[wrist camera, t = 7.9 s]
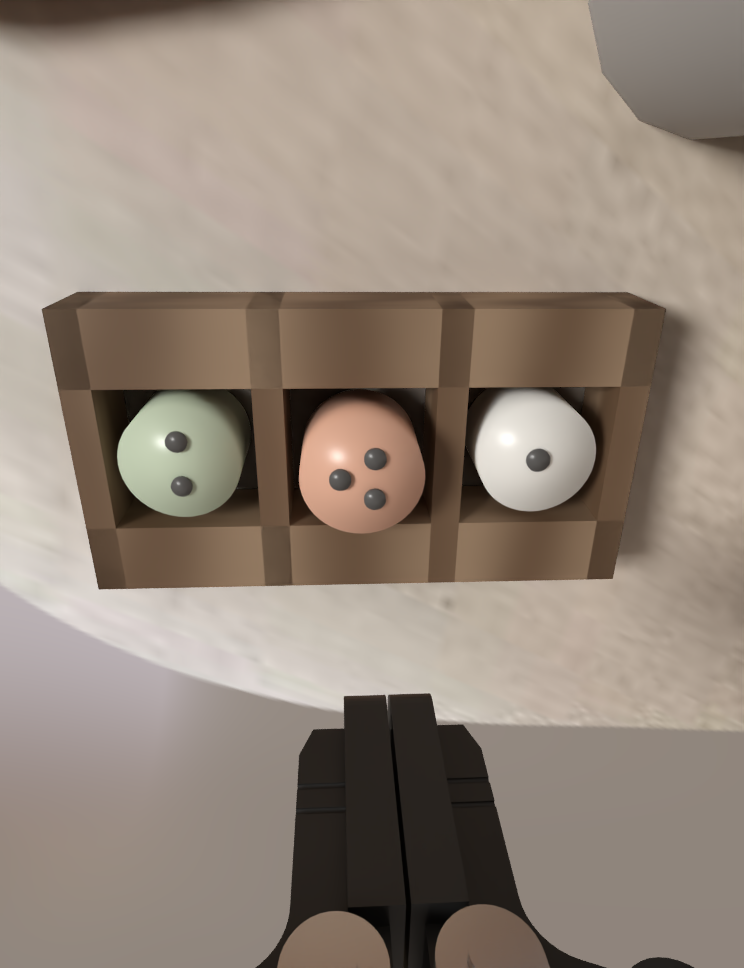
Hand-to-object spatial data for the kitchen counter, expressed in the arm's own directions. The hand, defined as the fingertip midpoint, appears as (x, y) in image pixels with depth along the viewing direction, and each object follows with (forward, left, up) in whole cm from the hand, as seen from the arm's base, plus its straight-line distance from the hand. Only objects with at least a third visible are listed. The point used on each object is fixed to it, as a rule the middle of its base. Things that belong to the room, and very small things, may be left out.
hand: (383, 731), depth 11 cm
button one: (-6, 0, -15) cm, 16 cm away
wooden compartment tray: (0, 0, -15) cm, 15 cm away
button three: (0, 0, -13) cm, 13 cm away
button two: (+6, 0, -15) cm, 16 cm away
